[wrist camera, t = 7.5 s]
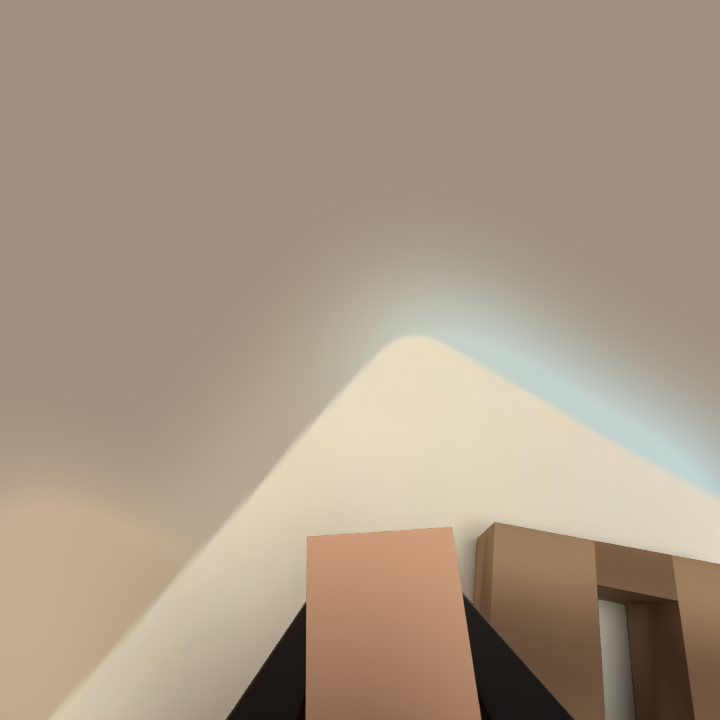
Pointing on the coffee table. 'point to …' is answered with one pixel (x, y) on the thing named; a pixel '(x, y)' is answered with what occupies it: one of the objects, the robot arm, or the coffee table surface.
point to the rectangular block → (387, 628)
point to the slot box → (581, 619)
